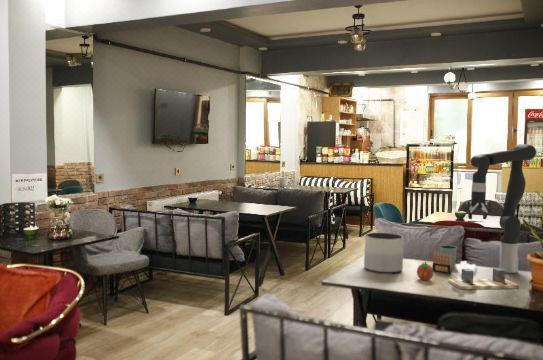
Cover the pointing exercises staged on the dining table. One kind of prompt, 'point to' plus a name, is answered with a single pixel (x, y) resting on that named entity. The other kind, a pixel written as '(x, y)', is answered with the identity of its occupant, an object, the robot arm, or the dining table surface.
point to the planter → (383, 252)
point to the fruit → (425, 271)
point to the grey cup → (449, 250)
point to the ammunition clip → (441, 263)
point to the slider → (467, 275)
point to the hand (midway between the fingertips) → (477, 219)
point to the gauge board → (486, 282)
